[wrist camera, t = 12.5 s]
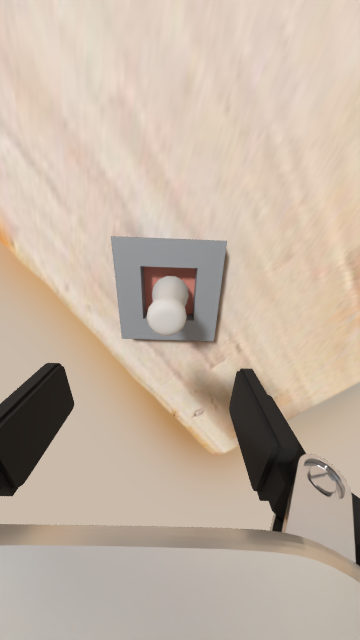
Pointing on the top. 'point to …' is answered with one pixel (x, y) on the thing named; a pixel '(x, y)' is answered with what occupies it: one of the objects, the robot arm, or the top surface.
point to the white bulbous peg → (168, 306)
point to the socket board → (160, 261)
